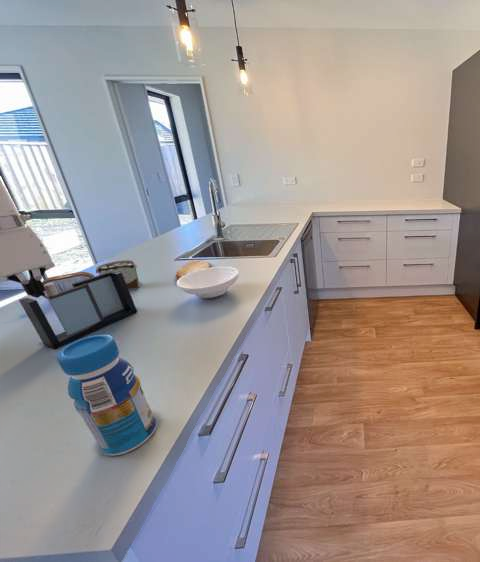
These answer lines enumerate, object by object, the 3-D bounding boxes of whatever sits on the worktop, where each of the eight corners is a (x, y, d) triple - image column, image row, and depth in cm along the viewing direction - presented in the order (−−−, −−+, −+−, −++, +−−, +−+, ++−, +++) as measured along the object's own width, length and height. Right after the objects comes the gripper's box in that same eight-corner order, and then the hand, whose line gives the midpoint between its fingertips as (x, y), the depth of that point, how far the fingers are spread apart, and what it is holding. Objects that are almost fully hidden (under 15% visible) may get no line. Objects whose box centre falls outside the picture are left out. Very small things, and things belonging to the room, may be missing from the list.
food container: (148, 281, 120) (140, 257, 116) (144, 287, 115) (135, 263, 110) (111, 286, 116) (101, 262, 112) (104, 293, 111) (93, 268, 106)
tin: (101, 289, 114) (92, 268, 111) (101, 291, 112) (92, 271, 108) (46, 301, 105) (34, 279, 102) (45, 304, 103) (33, 282, 100)
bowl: (168, 303, 102) (162, 284, 99) (212, 280, 119) (208, 264, 116) (214, 310, 97) (209, 291, 94) (253, 285, 114) (250, 269, 111)
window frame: (54, 349, 79) (28, 303, 73) (44, 345, 81) (18, 299, 75) (137, 312, 97) (121, 272, 91) (127, 309, 99) (111, 270, 93)
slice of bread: (198, 263, 138) (196, 255, 136) (226, 268, 131) (224, 260, 129) (159, 277, 123) (156, 269, 122) (187, 284, 116) (184, 275, 114)
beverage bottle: (87, 454, 51) (30, 361, 43) (131, 414, 59) (89, 328, 51) (130, 461, 50) (79, 366, 42) (169, 419, 58) (133, 332, 49)
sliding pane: (69, 335, 82) (43, 286, 76) (65, 334, 83) (39, 285, 76) (104, 320, 89) (84, 274, 83) (101, 319, 90) (80, 273, 84)
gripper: (34, 216, 76) (67, 282, 83) (-60, 230, 63) (-12, 306, 71) (50, 218, 73) (82, 285, 81) (-45, 233, 61) (3, 312, 68)
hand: (38, 295), depth 76 cm, fingers closed
